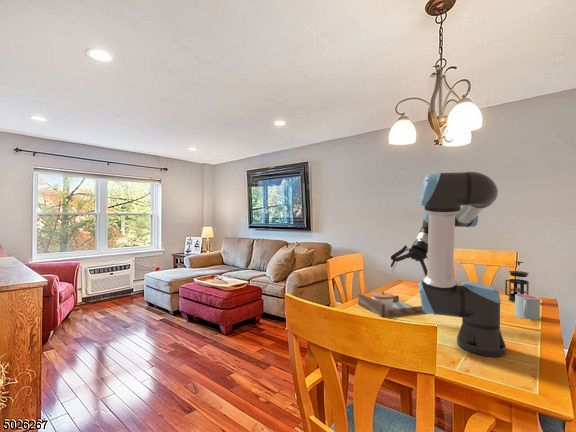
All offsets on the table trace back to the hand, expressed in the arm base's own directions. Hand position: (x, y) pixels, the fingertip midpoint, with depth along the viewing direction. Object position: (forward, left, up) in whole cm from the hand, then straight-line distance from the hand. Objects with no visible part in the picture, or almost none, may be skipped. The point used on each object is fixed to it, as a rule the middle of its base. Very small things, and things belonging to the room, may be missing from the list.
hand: (404, 279), depth 139 cm
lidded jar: (+12, +8, -19) cm, 24 cm away
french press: (+47, -71, -19) cm, 87 cm away
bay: (+15, +4, -18) cm, 24 cm away
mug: (+14, -58, -19) cm, 63 cm away
